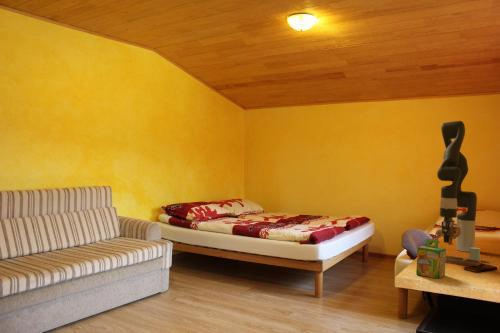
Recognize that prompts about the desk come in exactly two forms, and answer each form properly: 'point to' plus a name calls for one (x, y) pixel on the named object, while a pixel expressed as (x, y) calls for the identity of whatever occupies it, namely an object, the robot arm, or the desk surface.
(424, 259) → the chalk box
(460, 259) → the board
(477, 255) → the block
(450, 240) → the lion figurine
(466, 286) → the desk surface
